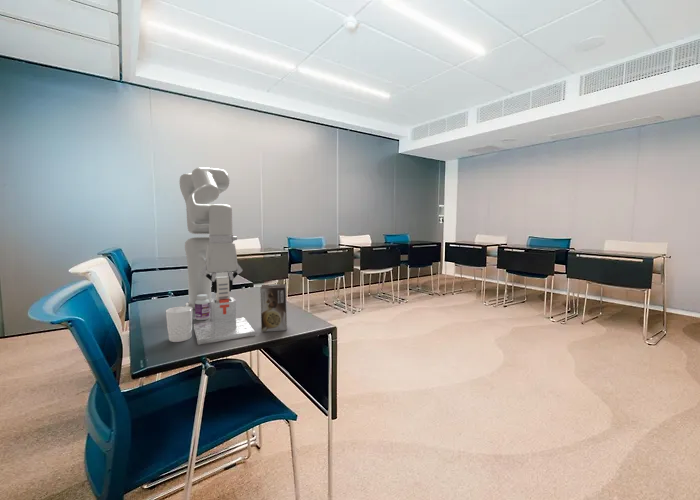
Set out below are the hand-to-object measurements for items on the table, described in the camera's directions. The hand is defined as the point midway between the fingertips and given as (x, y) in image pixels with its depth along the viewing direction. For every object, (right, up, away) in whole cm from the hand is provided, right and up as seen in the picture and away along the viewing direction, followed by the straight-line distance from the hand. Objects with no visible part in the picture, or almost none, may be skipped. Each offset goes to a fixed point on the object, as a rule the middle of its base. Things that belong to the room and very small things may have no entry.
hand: (222, 291), depth 113 cm
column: (0, -13, +1) cm, 13 cm away
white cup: (-12, -16, -6) cm, 20 cm away
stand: (0, -15, +1) cm, 15 cm away
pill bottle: (-14, -13, +16) cm, 25 cm away
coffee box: (+17, -15, +5) cm, 23 cm away
